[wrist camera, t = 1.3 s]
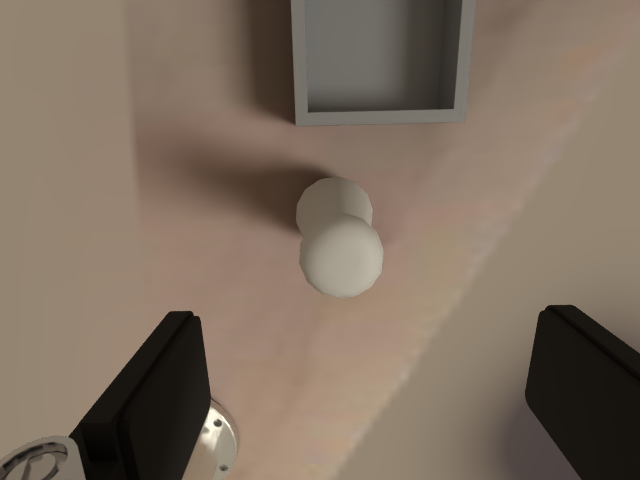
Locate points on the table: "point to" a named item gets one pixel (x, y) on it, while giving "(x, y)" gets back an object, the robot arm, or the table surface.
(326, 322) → the table surface
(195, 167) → the table surface
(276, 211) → the table surface
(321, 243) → the salt shaker
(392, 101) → the tray
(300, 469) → the table surface
